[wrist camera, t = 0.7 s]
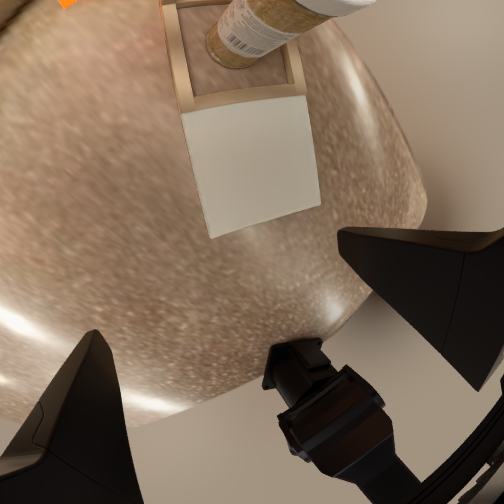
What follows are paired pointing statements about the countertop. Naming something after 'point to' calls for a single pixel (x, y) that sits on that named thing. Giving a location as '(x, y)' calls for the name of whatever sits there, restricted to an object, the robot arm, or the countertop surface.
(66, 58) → the countertop surface
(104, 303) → the countertop surface
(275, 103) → the mat
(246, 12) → the sprinkles bottle
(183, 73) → the frame
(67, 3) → the orange juice
